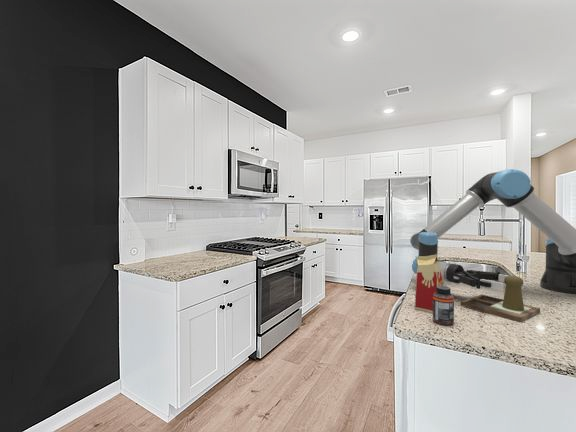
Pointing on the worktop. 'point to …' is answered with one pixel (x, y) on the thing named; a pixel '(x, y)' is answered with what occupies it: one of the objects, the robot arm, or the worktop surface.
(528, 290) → the worktop surface
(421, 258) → the milk carton
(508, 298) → the cork
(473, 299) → the board
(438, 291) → the supplement bottle
